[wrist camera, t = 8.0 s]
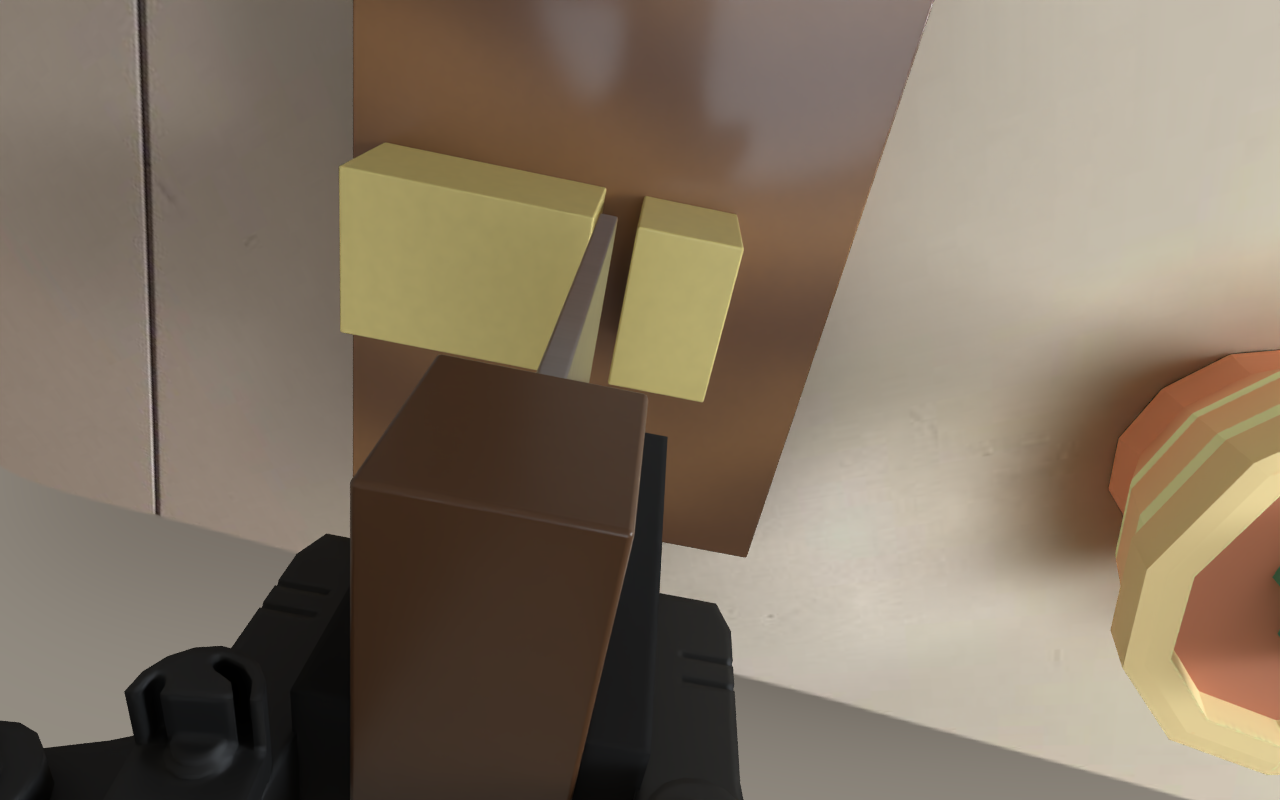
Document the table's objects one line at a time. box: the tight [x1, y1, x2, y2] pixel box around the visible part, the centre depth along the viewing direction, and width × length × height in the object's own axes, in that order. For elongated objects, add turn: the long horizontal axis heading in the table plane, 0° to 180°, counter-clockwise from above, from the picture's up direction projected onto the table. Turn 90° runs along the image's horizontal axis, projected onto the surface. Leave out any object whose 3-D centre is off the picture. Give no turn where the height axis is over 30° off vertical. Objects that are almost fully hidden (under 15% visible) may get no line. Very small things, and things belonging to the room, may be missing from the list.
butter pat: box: [608, 196, 744, 402], centre depth 23 cm, size 5×3×4 cm, turn 169°
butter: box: [339, 143, 606, 370], centre depth 23 cm, size 5×7×4 cm
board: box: [353, 0, 934, 557], centre depth 25 cm, size 22×16×2 cm
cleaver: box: [350, 214, 648, 800], centre depth 13 cm, size 9×2×11 cm, turn 169°
